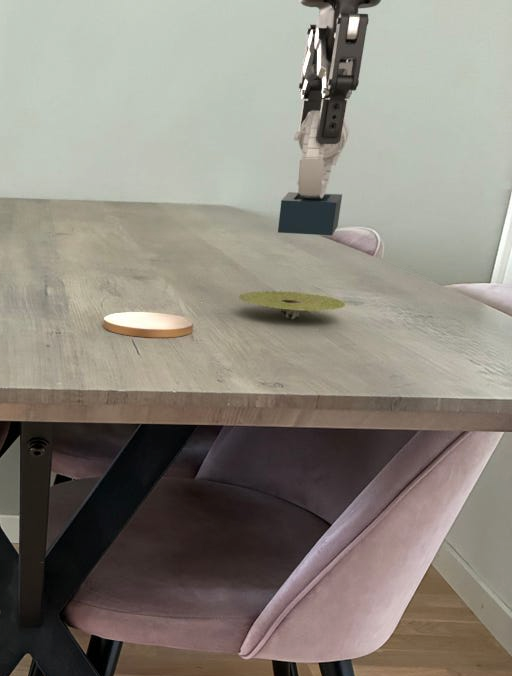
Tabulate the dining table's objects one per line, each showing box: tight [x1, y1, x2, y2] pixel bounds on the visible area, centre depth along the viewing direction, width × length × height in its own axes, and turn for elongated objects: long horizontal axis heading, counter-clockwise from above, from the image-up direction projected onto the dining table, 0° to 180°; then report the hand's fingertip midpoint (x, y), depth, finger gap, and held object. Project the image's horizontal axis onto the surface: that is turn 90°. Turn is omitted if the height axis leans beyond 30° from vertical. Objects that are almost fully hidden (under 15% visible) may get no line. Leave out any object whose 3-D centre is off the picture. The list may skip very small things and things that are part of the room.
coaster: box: [102, 311, 194, 339], centre depth 96 cm, size 9×9×1 cm
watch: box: [277, 111, 350, 236], centre depth 97 cm, size 6×8×11 cm
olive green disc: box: [238, 290, 346, 320], centre depth 103 cm, size 11×11×2 cm
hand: (317, 142), depth 96 cm, fingers closed on watch, 8 cm apart
